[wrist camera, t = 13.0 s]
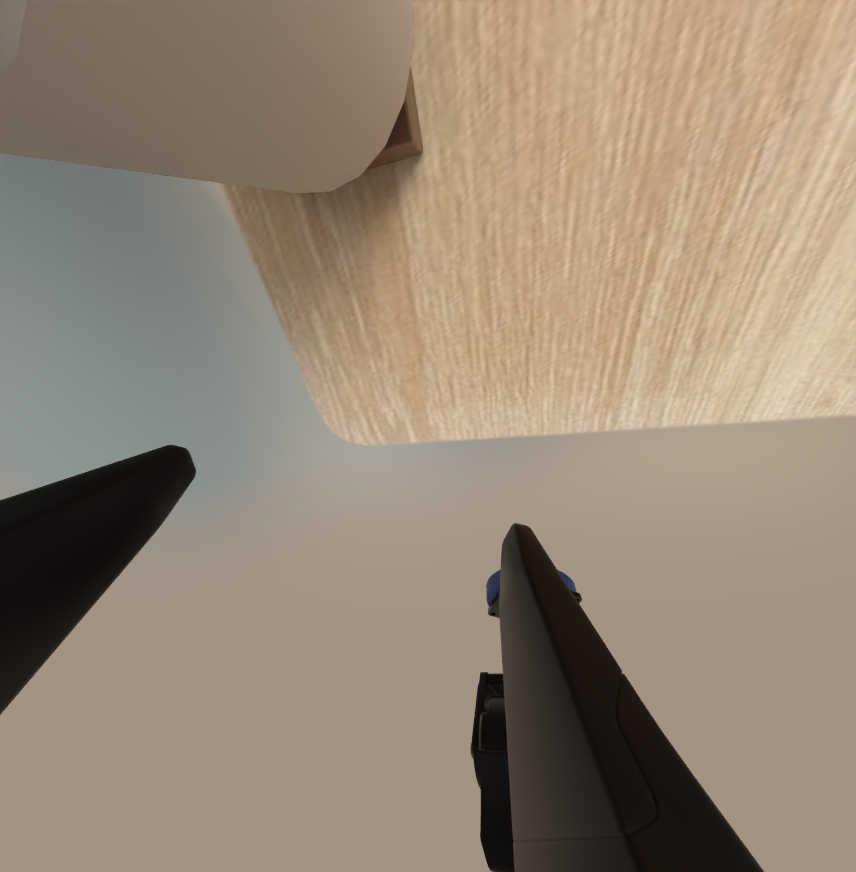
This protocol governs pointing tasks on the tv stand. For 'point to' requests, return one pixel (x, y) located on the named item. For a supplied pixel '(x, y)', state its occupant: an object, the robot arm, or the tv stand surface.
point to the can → (206, 86)
